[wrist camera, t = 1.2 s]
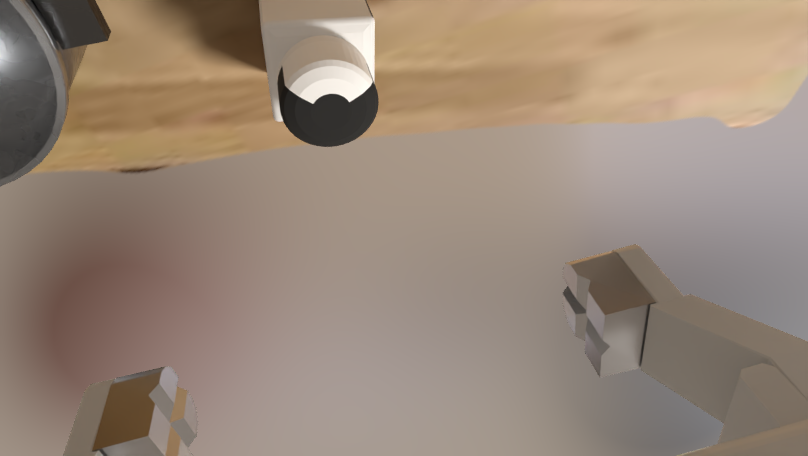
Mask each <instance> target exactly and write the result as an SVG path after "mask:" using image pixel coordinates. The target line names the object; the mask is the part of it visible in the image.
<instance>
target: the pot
mask: <svg viewBox="0 0 808 456" xmlns="http://www.w3.org/2000/svg"><path fill="white" fill-rule="evenodd" d="M110 33H111V31H110V29H109V27H108V25H107V23H106V21H105V19H104V17H103V15H102V13H101V11H100V9H99V7H98V5H97V3H96V1H95V0H0V186H2V185H4V184H7V183H9V182H11V181H14V180H16V179H18V178H20V177H21V176H23V175H25V174H26V173H28V172H30V171H31V170H32V169H33V168H34V167H36V166H37V165H38V164H39V163H40V162H42V160H43V159H44V158H45V157H46V156H47V155H48V153H49V152H50V151H51V149H52V148H53V146H54V144H55V143H56V141H57V139H58V137H59V135H60V132H61V130H62V127H63V124H64V121H65V118H66V115H67V109H68V102H69V90H70V87H71V85H72V82H73V80H74V78H75V75H76V73H77V70H78V68H79V66H80V63H81V61H82V58H83V56H84V53H85V50H86V47H87V45H89V44H94V43H99V42H103V41H108V38H109V36H110Z"/></svg>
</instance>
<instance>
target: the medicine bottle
mask: <svg viewBox="0 0 808 456" xmlns="http://www.w3.org/2000/svg"><path fill="white" fill-rule="evenodd" d="M259 11H260V23H261V32H262V39H263V47H264V54H265V61H266V68H267V75H268V83H269V90H270V97H271V104H272V112H273V117H274V119H275V120H276V121H279V122H280V121H283V122H284V123H285V125H286V127H287V128H288V129H289V130H290V132H291V133H292V134H294V135H295V136H296V137H297V138H299V139H300V140H302V141H304V142H306V143H309V144H312V145H316V146H323V147H332V146H339V145H343V144H345V143H349V142H351V141H353V140H355V139H356V138H358V137H359V136H361V135H362V134H363V133H364V132H365V131H366V130H367V129H368V128H369V127H370V125H371V124H372V122H373V121H374V119H375V117H376V113H377V110H378V93H377V90H376V87H375V84H374V54H375V21H374V18H373V15H372V13H371V11H370V8H369V6H368V4H367V1H366V0H259Z"/></svg>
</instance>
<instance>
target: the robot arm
mask: <svg viewBox="0 0 808 456" xmlns="http://www.w3.org/2000/svg"><path fill="white" fill-rule="evenodd" d="M563 279H564V280H565V282H566V283H567V285H568V286H567V288H566V289H565V291H564V292H563V307H564V311H565V316H566V319H567V321H568V323H569V326H570V328H571V329H572V331H573V333H574V335H575V336H576V337H578V338H580V339H582V340H584V341H585V354H586V355H587V357H588V358H589V360H590V362H591V363H592V365H593V367H594V368H595V370H596V372H597V374H598V375H599V377H604V376H608V375H613V374H617V373H621V372H625V371H629V370H634V369H638V368H641V370H642V371H643V372H645V373H646V374H648V375H649V376H651V377H652V378H654V379H656V380H657V381H659V382H660V383H662V384H664V385H665V386H666V387H668V388H669V389H671V390H673V391H674V392H676V393H677V394H679V395H680V396H682V397H683V398H685V399H687V400H688V401H690V402H692V403H693V404H694V405H696V406H697V407H699V408H701V409H702V410H704V411H705V412H707V413H708V414H710V415H711V416H713V417H714V418H716V419H718V420H719V421H721V422H722V423H724V426H723V429H722V432H721V435H720V438H719V441H718V444H717V445H713V446H709V447H706V448H702V449H698V450H695V451H691V452H688V453H684V454H681V455H677V456H808V342H807V341H805V340H802V339H800V338H797V337H795V336H793V335H790V334H788V333H785V332H783V331H780V330H777V329H775V328H773V327H770V326H768V325H765V324H763V323H761V322H758V321H755V320H753V319H751V318H748V317H746V316H743V315H741V314H738V313H735V312H733V311H731V310H728V309H726V308H724V307H721V306H719V305H716V304H714V303H711V302H709V301H706V300H704V299H701V298H699V297H696V296H694V295H691V294H690V295H685V296H683V295H682V293H681V292H680V291H679V290H678V289H677V288H676V287H675V286H674V284H673V283H672V282H671V281H670V280H669V279H668V278H667V277H666V275H665V274H664V273H663V272H662V271H661V270H660V268H659V267H658V266H657V265H656V264H655V263H654V262H653V261H652V259H651V258H650V257H649V256H648V255H647V254H646V253H645V252H644V250H643V249H642V248H641V247H640V246H638V245H636V244H634V245H630V246H627V247H623V248H619V249H616V250H612V251H609V252H605V253H601V254H598V255H593V256H590V257H586V258H582V259H579V260H575V261H571V262H567V263H565V265H564V267H563ZM177 383H178V376H177V374H176V373H175V372H174V370H173V369H172V368H171V367H161V368H158V369H153V370H149V371H145V372H140V373H136V374H132V375H127V376H123V377H119V378H116V379H112V380H108V381H103V382H99V383H95V384H91V385H90V386H89V387H88V388H87V389H86V390H85V392H84V395H83V397H82V400H81V403H80V406H79V409H78V412H77V415H76V418H75V421H74V424H73V428H72V430H71V434H70V436H69V439H68V442H67V445H66V448H65V451H64V454H63V456H193V455H192V453H191V452H190V450H189V449H188V447H189V446H190V444H191V443H192V442H193V440H194V439H195V438H196V435H197V426H198V421H197V412H196V407H195V404H194V401H193V399H192V397H191V396H190V394H189V392H188V391H187V390H184V389H182V388H179V387H177Z"/></svg>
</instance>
